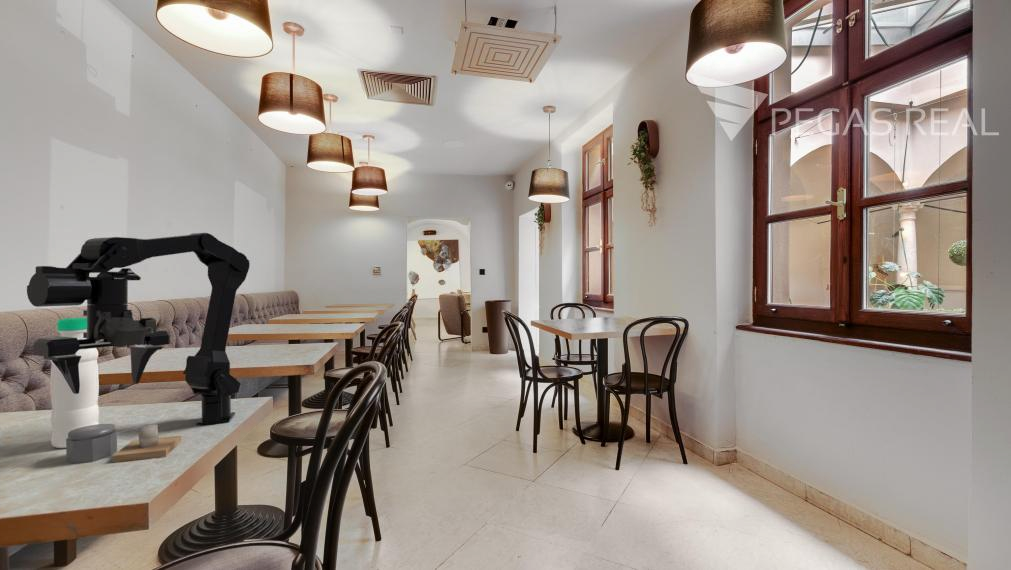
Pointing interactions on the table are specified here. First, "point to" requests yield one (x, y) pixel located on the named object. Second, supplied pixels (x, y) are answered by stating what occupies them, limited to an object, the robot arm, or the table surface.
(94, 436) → the cap
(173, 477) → the table surface
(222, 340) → the robot arm
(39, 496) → the table surface
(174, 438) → the stud block
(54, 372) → the water bottle
